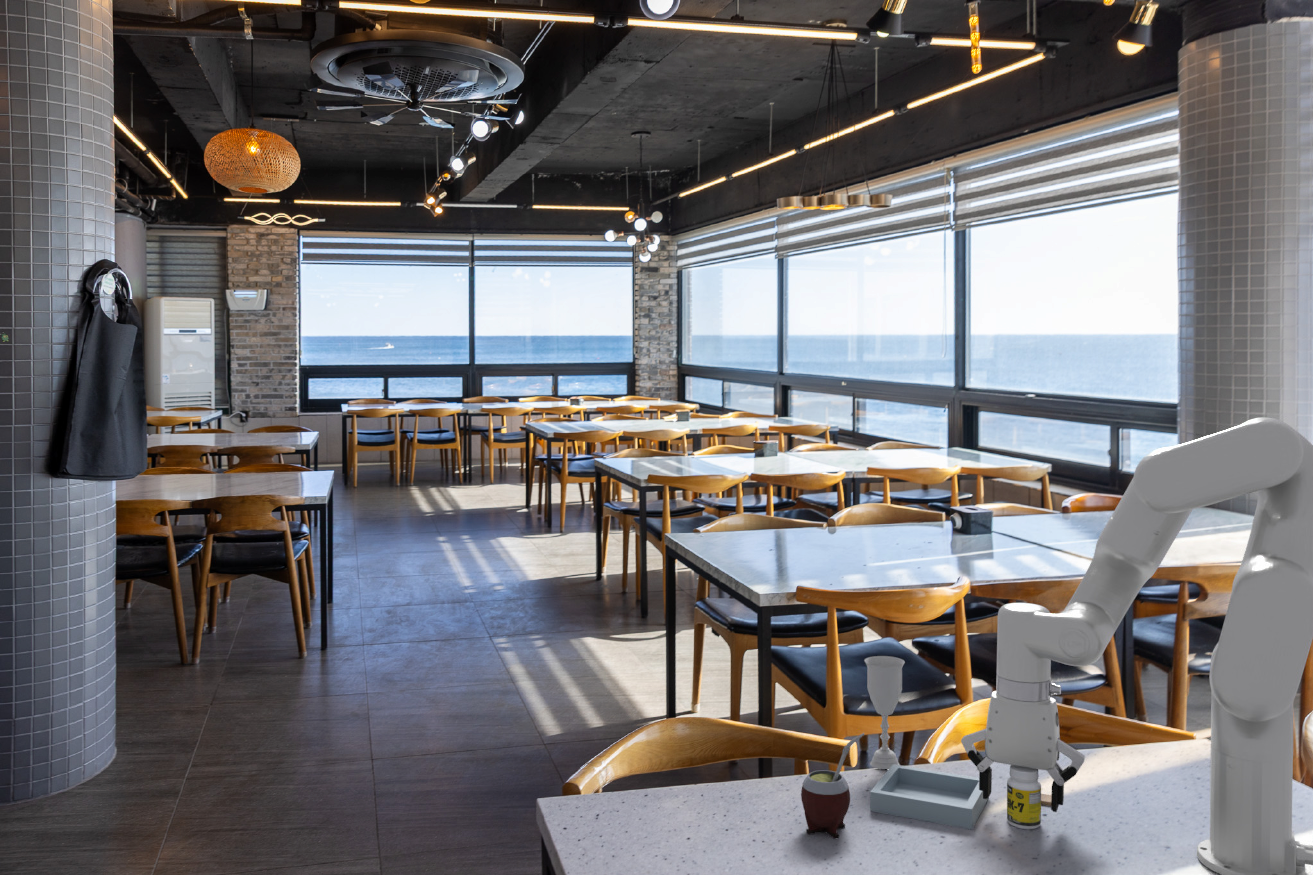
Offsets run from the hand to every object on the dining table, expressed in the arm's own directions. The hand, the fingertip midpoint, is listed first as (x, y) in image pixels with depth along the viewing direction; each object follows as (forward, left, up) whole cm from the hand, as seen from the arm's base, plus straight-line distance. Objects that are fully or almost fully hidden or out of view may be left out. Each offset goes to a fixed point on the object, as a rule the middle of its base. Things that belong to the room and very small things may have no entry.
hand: (1020, 802), depth 153 cm
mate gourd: (+25, +15, -3) cm, 29 cm away
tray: (+14, -1, -3) cm, 14 cm away
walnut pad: (0, -10, -3) cm, 10 cm away
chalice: (+25, -15, -3) cm, 29 cm away
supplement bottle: (0, 0, -3) cm, 3 cm away
